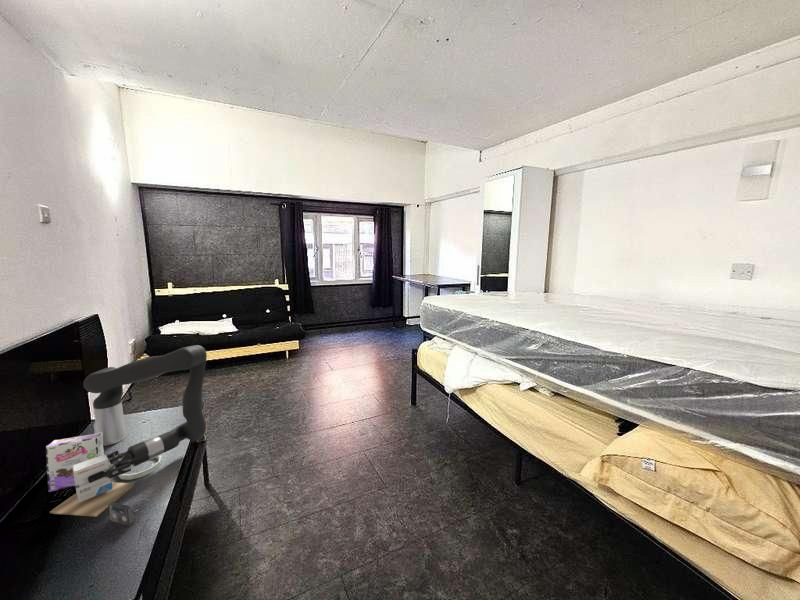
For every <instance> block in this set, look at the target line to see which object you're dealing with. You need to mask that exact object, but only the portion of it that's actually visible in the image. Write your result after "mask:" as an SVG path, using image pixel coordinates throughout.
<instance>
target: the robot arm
mask: <svg viewBox="0 0 800 600" xmlns="http://www.w3.org/2000/svg"><path fill="white" fill-rule="evenodd" d="M207 356H208V355H207V351H206V349H205V347H203V346H202V345H199V344H194V345H190V346H189V345H188V346H185V347H181V348H178V349H176V350H173V351H172V352H171V351H170V352H168V353H166V354H163V355H155V356H154V355H153V356H148V357H144V358H141V359H137V360H134V361H131V362H128V363H126V364H124V365H121V366H119V367H117V368H116V367H115V366H108V367H105V368H103V369H100V370H97V371H95V372H92V373H90V374H88V375H87V376H86V377H85V379H84V380H83V388H84V389H85V390H86V392H89V393H91V394H99V395H98V396H97V397H95V399H94V400H93V401H92V406H93V414H94V422H93V430H94V431H93V432H94V434H95V433H99V432H103V447H104V446H105V447H106V446H111V445H115V444H117V443H119V442H122V441H123V440H125V438H126V435H127V434H126V427H125V425H126V424H125V417H124V411H123V410H124V409H123V401H122V397H123V395H124V386H126V385H130V384H135V383H140V382H144V381H148V380H152V379H155V378H157V377H160V376H162V375H163V374H167V373H170V372H175V371H183V370H189V378H188V380H187V381H188V382H187V385H186V387H185V389H184V391H183V395H182V415H183V418H185V420H186V421H185V422H183V423H181V424H179V425H177V426H176V427H174V428H173V429H171V430H169V431H167V432H164V433H162V434H159V435H157V436H154V437H151V438H148V439H144V440H143V441H141V442H137V443H136V444H133V445H130V446H129V447H128V448H127V450H126V451H124V452H121V453H119V450H115V451H113V452H111V453H108V454H106V456H107V458H108V462H109V468H107V469H105V470H104V471H100V472H98V473H95V474H93V475H91V476H89V477H88V482H89V483H92V482H94V481H96V480H98V479H101V478H103V477H105V478H106V477H108V478H109V479H110V478H111V479H113V478H116V477H118V475H121V474H127V473H129V472H131V471H132V467H137V466H139V465H141V464H143V463H146V462H149V461H151V460H152V459H154V458H155V457H157V456H159V455H162V454H164V453H167V452H169V451H171V450H173V449H175V448H176V447H178V446H179V444H180V443H181V442H182V441H183V440H186V439H187V440H189V441H192V442H196V441H200V440H201V439H202V438H203V437H204V435H206V429H207V424H206V420H205V415H204V412H203V386H204V378H205V371H206V363H207ZM155 459H156V458H155Z"/></svg>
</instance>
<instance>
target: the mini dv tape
mask: <svg viewBox="0 0 800 600" xmlns="http://www.w3.org/2000/svg"><path fill="white" fill-rule="evenodd" d="M108 506H109V507H108V511H109V512H108V513H109V519H110V521H111V522H113V523H117V524H121V525H124V526H127V527H132V526H133V525H134V524H135V523H136V520H135V519H136V518H135V509H134V507H133V506H130V505H126V504H122V503H120V502H116V501H115V502H111V503H110V504H108Z"/></svg>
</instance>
